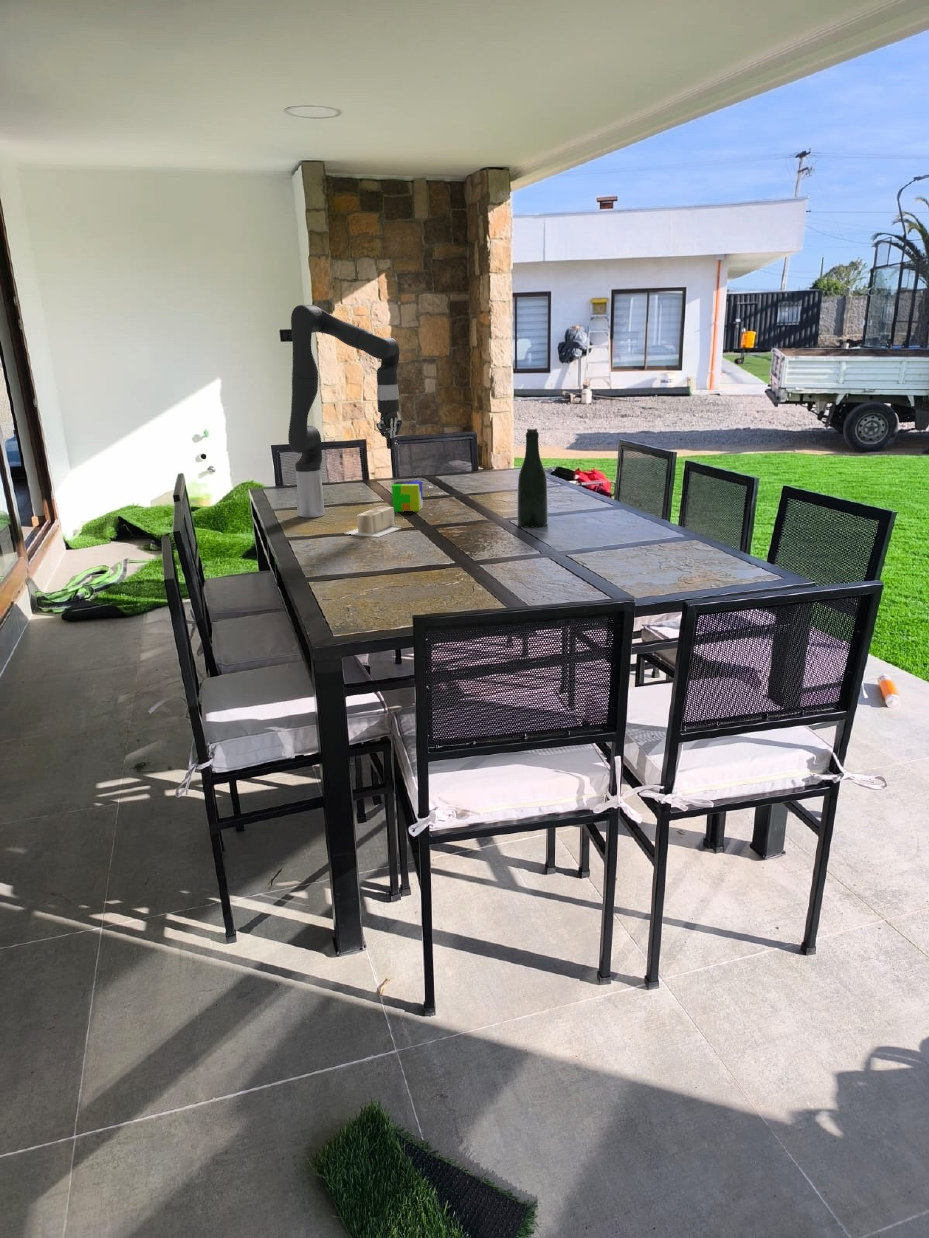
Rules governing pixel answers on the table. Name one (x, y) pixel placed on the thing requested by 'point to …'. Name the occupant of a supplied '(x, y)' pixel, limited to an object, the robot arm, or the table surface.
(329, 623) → the table surface
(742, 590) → the table surface
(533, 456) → the green wine bottle
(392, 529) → the mat
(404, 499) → the puzzle toy
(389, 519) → the maple block
